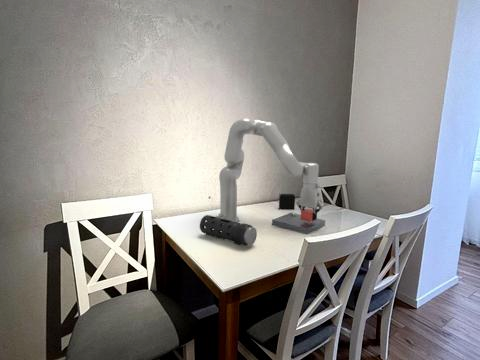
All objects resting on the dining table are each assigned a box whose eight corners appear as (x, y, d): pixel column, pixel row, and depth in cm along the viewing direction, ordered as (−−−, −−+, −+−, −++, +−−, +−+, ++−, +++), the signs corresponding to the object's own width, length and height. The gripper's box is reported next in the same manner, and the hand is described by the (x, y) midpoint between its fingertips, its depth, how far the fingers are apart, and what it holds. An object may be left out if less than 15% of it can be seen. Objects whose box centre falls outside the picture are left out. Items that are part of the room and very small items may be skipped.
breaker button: (309, 227, 157) (309, 220, 156) (304, 226, 159) (304, 219, 158) (312, 226, 159) (312, 219, 158) (307, 225, 161) (307, 218, 160)
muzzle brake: (212, 232, 150) (212, 212, 148) (257, 245, 134) (258, 223, 132) (199, 237, 143) (198, 216, 141) (245, 251, 126) (245, 228, 124)
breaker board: (307, 234, 148) (307, 226, 147) (271, 224, 163) (272, 217, 162) (325, 225, 163) (325, 218, 162) (291, 217, 177) (291, 210, 177)
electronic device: (294, 209, 195) (295, 195, 193) (279, 209, 195) (280, 194, 193) (293, 208, 199) (294, 193, 197) (278, 207, 199) (279, 193, 197)
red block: (310, 222, 154) (311, 212, 153) (300, 219, 158) (300, 210, 157) (316, 219, 158) (317, 210, 158) (306, 217, 162) (306, 208, 162)
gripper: (328, 187, 152) (326, 220, 155) (299, 183, 163) (298, 214, 166) (322, 189, 147) (320, 223, 150) (292, 184, 158) (291, 217, 161)
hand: (308, 218), depth 158 cm, fingers closed on red block, 6 cm apart
